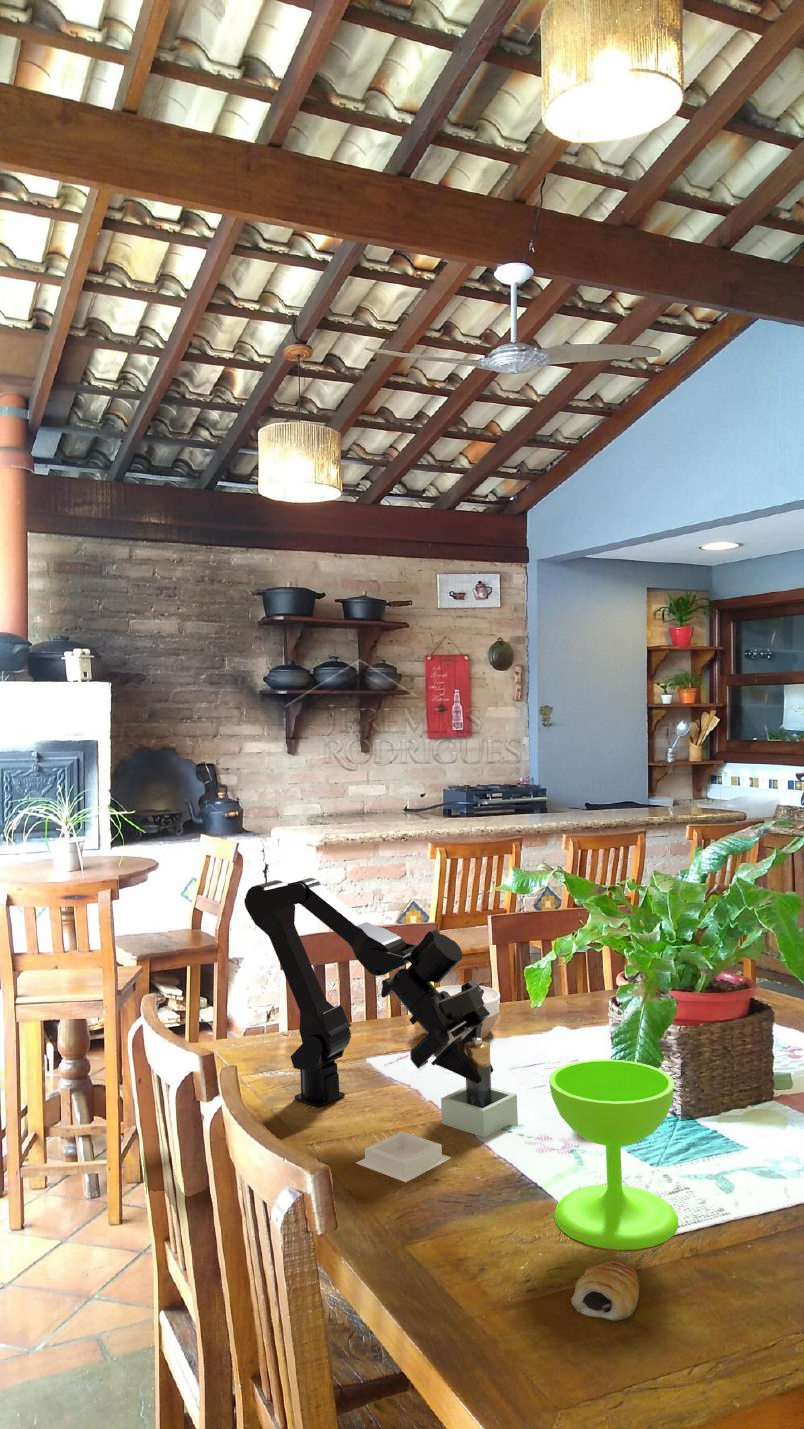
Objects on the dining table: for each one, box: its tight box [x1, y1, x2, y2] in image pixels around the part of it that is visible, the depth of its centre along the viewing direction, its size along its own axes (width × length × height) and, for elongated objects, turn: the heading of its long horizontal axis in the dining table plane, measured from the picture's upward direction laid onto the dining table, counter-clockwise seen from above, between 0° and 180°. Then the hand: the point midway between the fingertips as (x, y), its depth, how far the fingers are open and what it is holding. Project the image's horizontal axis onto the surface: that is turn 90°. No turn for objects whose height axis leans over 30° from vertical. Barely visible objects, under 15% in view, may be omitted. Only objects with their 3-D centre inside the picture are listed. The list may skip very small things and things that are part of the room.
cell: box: [465, 1037, 492, 1108], centre depth 166 cm, size 4×4×12 cm
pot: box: [440, 1086, 519, 1138], centre depth 166 cm, size 9×9×5 cm
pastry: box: [570, 1260, 640, 1322], centre depth 117 cm, size 9×7×4 cm
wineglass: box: [548, 1059, 680, 1251], centre depth 136 cm, size 16×16×18 cm
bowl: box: [435, 984, 501, 1039], centre depth 215 cm, size 16×16×8 cm
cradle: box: [355, 1130, 452, 1183], centre depth 153 cm, size 10×10×3 cm
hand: (485, 1077), depth 165 cm, fingers closed on cell, 4 cm apart
